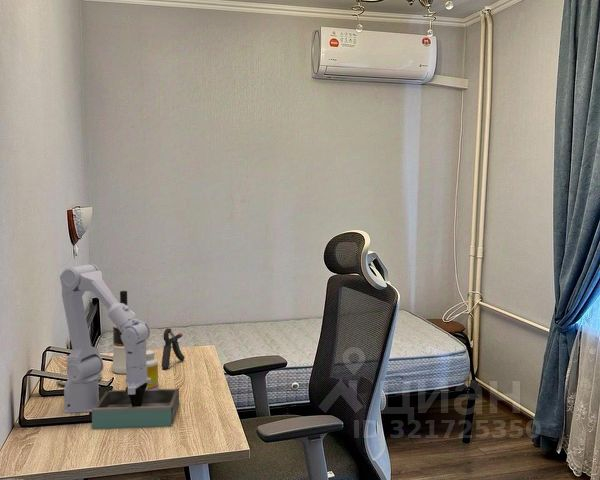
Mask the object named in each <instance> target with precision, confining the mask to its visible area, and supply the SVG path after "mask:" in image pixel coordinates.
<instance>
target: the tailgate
mask: <svg viewBox="0 0 600 480" xmlns="http://www.w3.org/2000/svg"><path fill="white" fill-rule="evenodd" d="M91 427H92V428H91V429H92V430H93V429H94V430H95V429H96V430H97V429H98V430H99V429H123V428H124V429H125V428H127V429H130V428H157V427H161V428H162V427H163V428H164V427H172V424H171V406H142V407H109V408H92V412H91Z"/></svg>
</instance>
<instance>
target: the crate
mask: <svg viewBox="0 0 600 480" xmlns="http://www.w3.org/2000/svg"><path fill="white" fill-rule="evenodd" d="M99 400H100V401H99V402H98V403H97V405H96V406H95V408H109V407H132V404H131V400H130V398H129V396H128V394H127V393H126V389H123V390H122V389H118V390H115V389H114V390H106V391H105V392H104V394H103V395H102V396H101V397H100V398H99ZM142 406H171V425H173V423H174V421H175V418H176V416H177V415H176V414H177V412H178V409H179V406H180V389H179V388H162V389H161V388H160V389H159V388H158V389H149V390H145V392H144V396H143V402H142Z"/></svg>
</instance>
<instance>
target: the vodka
mask: <svg viewBox="0 0 600 480" xmlns="http://www.w3.org/2000/svg"><path fill="white" fill-rule="evenodd" d="M119 303H123V304H125V305H127V306H128V291H127V290H120V291H119ZM129 310H130V311H131V312H132V314H133V315H134V316H135V317H136V318H137V315H136V313H135V312H134V311H133V310H131V309H130V308H129ZM111 326H112V338H113V339H112V341H113V342H112V350H113V353H112V354H113V355H112V365H111V370H112V372H113V373H114V374H118V375H126V351H125V349H124V343H123V342H122V340H121V335H122V333H121V332H120V330H119V329H118V328H117V327H116V325H115V324H114V323H113V322H112V324H111Z"/></svg>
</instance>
